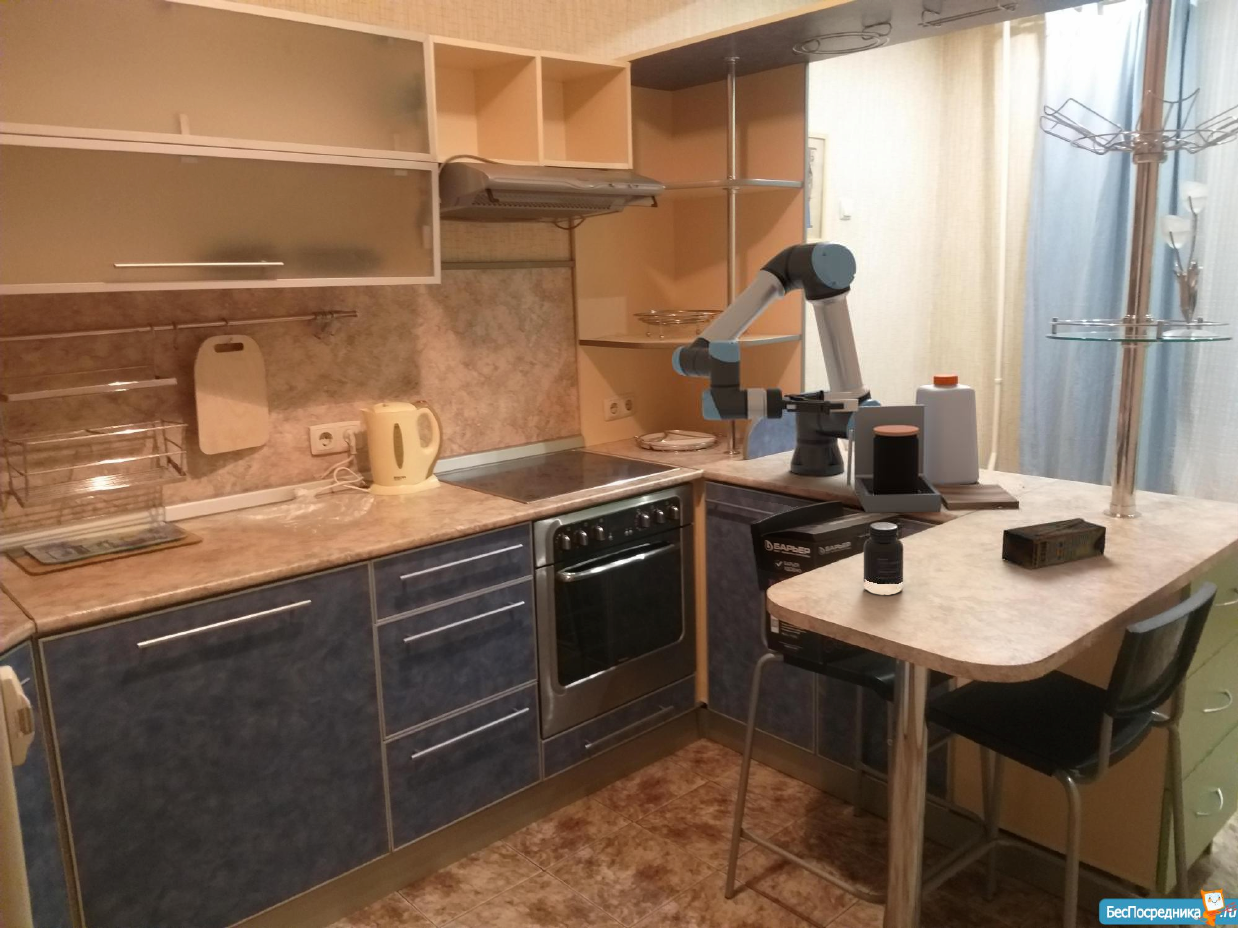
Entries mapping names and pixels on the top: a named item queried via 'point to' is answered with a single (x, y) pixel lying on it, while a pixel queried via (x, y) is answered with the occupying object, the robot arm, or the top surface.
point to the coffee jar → (895, 460)
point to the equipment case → (863, 460)
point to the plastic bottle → (949, 431)
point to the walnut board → (976, 496)
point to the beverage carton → (1053, 543)
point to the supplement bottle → (883, 554)
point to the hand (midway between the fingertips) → (854, 401)
